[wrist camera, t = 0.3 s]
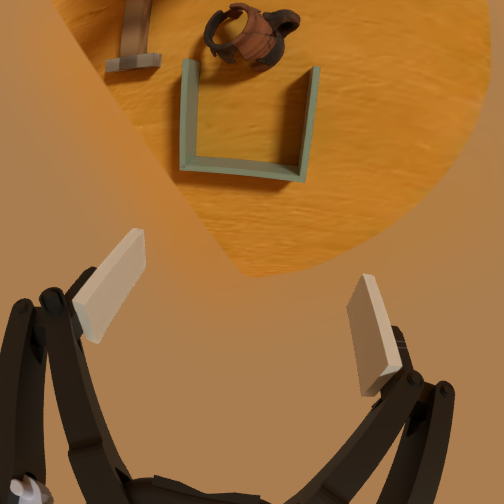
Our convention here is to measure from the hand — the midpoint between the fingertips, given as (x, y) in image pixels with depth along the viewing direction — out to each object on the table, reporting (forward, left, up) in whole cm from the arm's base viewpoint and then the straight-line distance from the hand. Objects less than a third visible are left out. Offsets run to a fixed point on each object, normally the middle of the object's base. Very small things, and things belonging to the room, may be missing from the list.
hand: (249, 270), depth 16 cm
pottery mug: (-18, -4, -27) cm, 33 cm away
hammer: (-21, -21, -27) cm, 41 cm away
